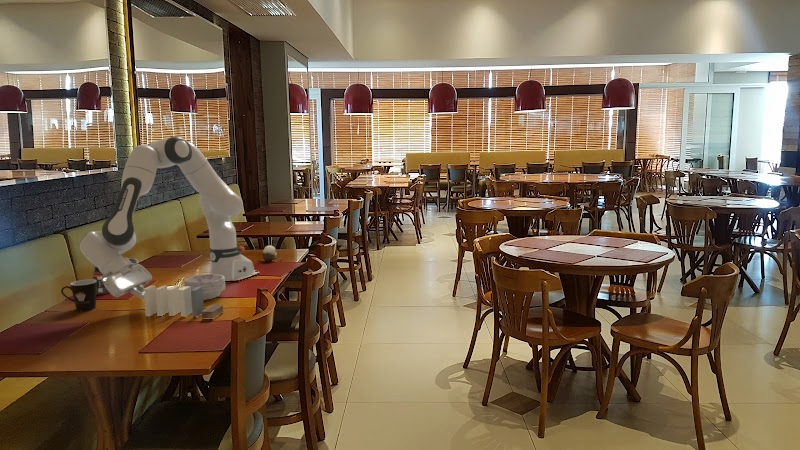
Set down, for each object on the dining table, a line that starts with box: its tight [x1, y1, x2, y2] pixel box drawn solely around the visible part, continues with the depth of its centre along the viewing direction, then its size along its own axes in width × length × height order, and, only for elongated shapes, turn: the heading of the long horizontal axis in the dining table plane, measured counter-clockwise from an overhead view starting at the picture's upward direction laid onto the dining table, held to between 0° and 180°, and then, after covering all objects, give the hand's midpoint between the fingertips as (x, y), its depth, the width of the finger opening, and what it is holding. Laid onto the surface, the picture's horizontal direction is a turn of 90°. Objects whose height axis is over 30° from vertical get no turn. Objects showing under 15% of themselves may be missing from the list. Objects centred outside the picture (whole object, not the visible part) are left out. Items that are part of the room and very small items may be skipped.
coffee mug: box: [61, 279, 97, 312], centre depth 222 cm, size 12×9×10 cm
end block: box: [201, 304, 224, 319], centre depth 210 cm, size 4×8×3 cm, turn 171°
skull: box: [262, 245, 284, 261], centre depth 301 cm, size 12×10×10 cm
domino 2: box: [155, 285, 169, 318], centre depth 213 cm, size 2×5×10 cm, turn 171°
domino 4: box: [179, 286, 193, 317], centre depth 211 cm, size 2×5×10 cm, turn 171°
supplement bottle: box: [92, 265, 110, 296], centre depth 243 cm, size 6×6×11 cm
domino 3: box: [167, 285, 181, 317], centre depth 212 cm, size 2×5×10 cm, turn 171°
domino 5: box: [191, 287, 205, 318], centre depth 211 cm, size 2×5×10 cm, turn 171°
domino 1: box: [143, 285, 157, 317], centre depth 213 cm, size 2×5×10 cm, turn 171°
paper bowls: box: [183, 273, 226, 301], centre depth 234 cm, size 15×15×8 cm
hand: (144, 296), depth 214 cm, fingers closed
